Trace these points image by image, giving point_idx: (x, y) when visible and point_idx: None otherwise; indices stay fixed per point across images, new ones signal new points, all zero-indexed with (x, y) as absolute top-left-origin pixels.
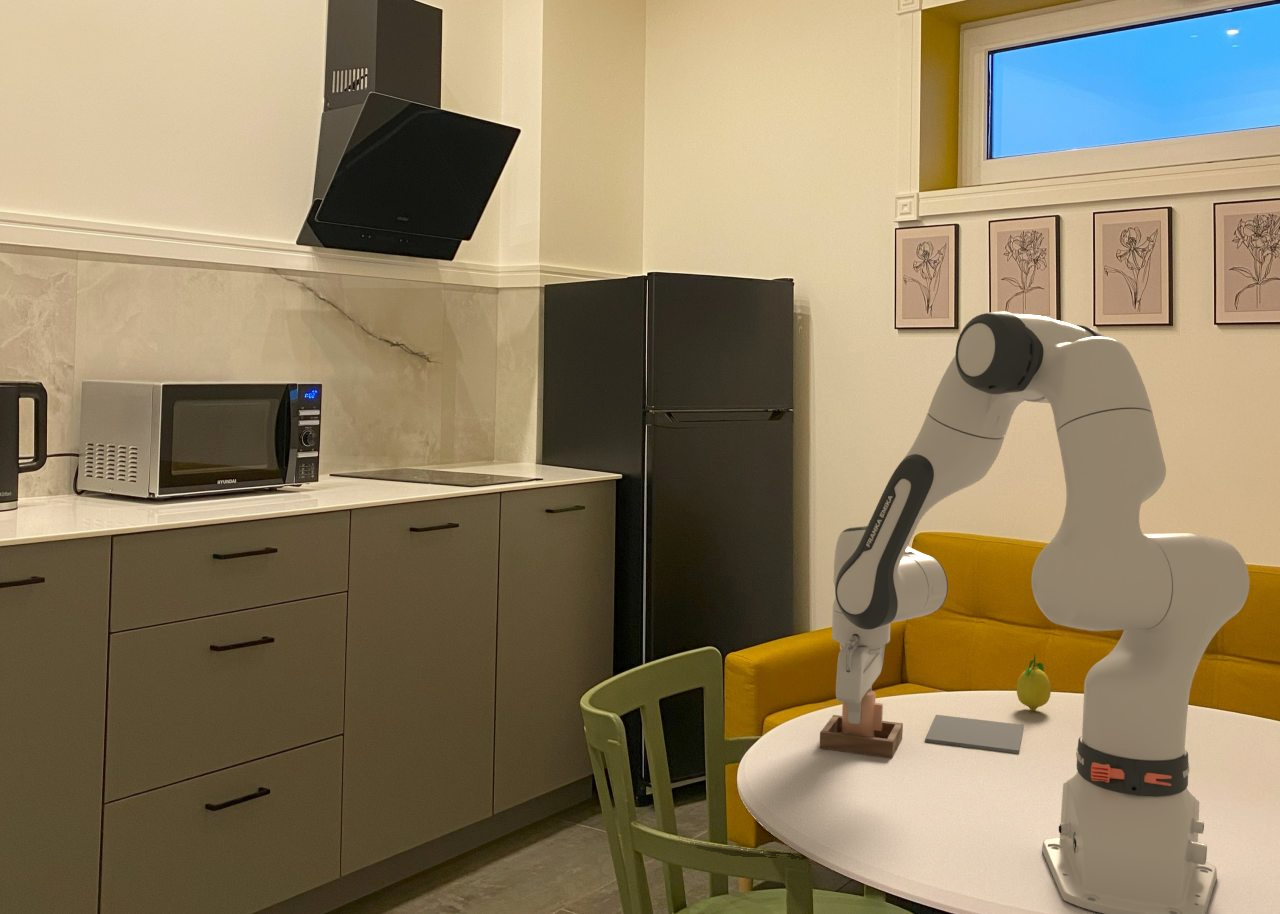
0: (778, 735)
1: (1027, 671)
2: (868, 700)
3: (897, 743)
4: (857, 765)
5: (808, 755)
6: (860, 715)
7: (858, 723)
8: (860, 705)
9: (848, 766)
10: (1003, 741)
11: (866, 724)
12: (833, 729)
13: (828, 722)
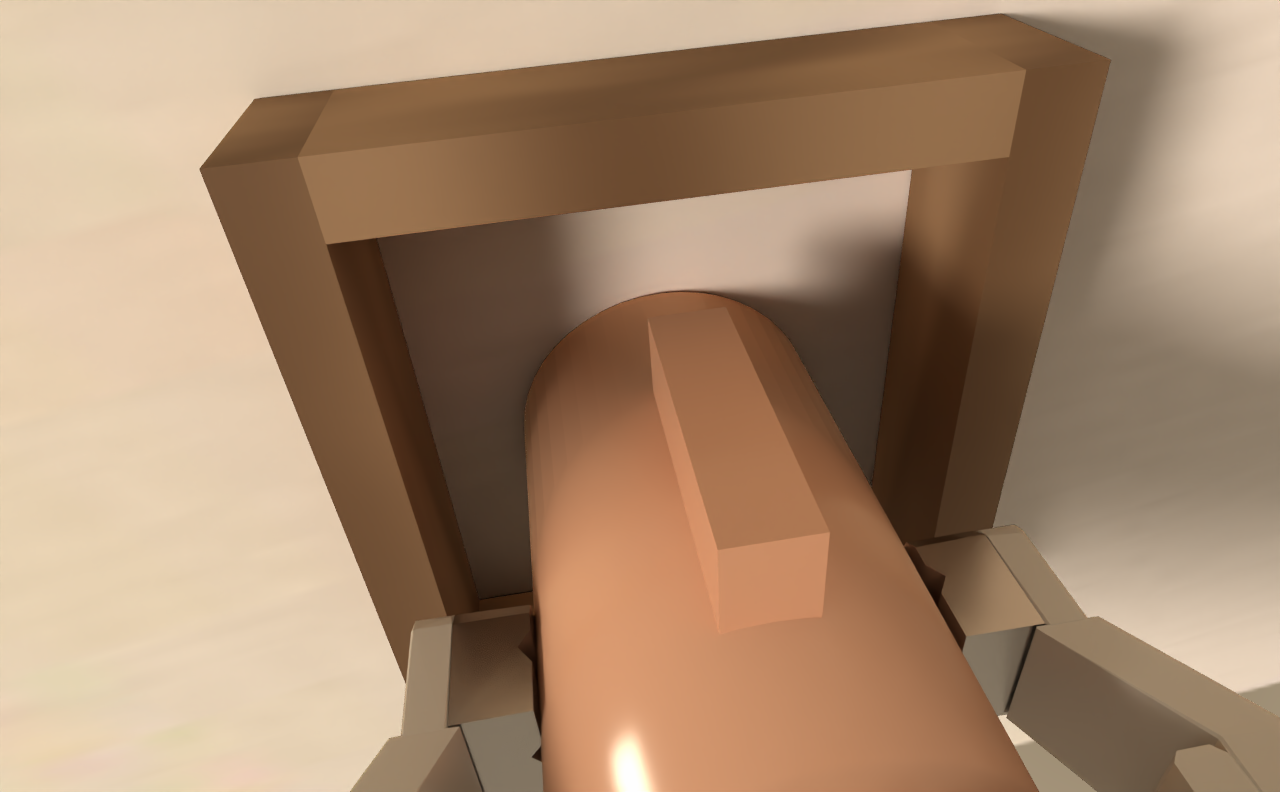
0: None
1: None
2: (983, 717)
3: (656, 69)
4: (1247, 243)
5: (1063, 560)
6: (1033, 586)
7: (1011, 525)
8: (1212, 699)
9: (1274, 293)
10: None
11: (853, 469)
12: None
13: None
